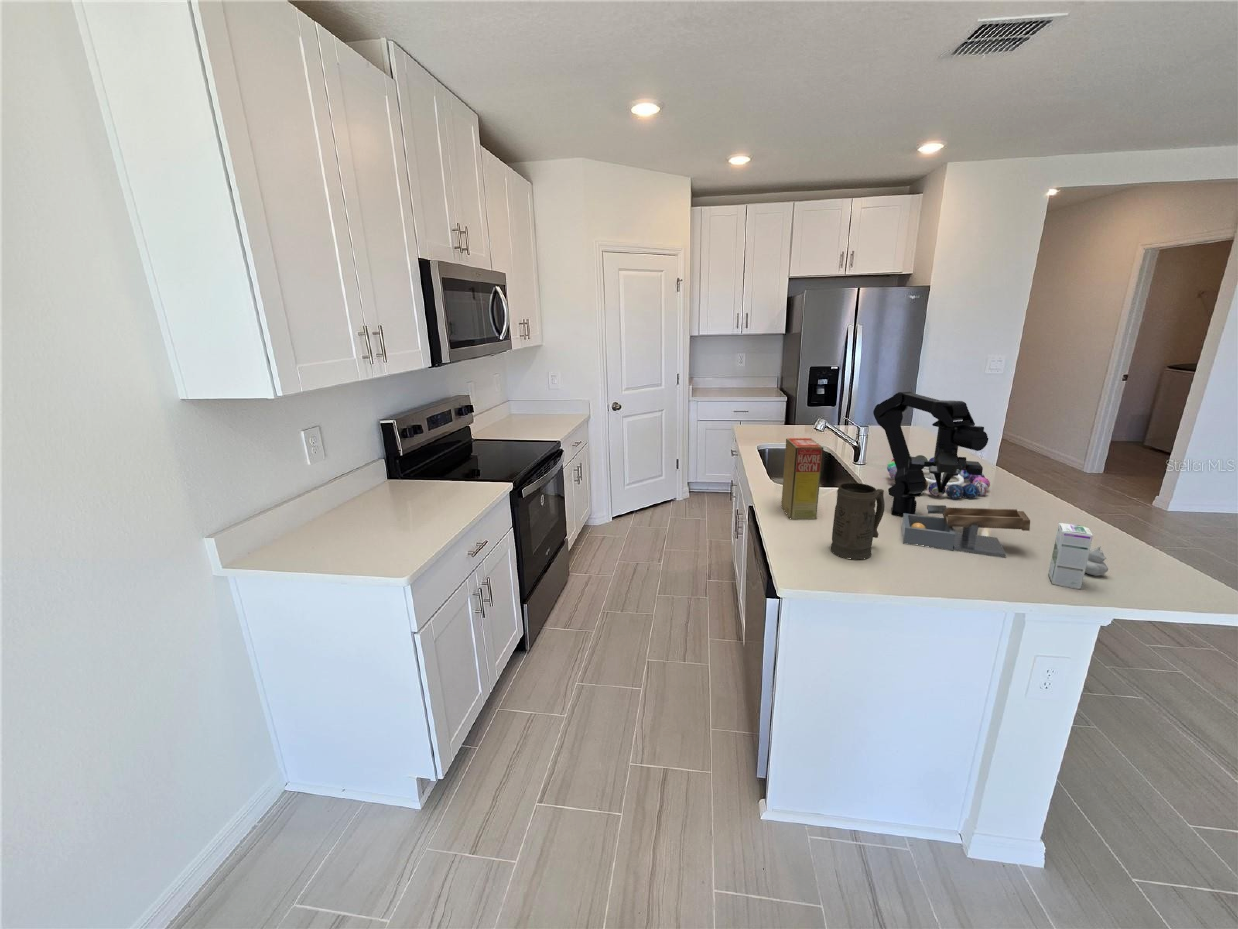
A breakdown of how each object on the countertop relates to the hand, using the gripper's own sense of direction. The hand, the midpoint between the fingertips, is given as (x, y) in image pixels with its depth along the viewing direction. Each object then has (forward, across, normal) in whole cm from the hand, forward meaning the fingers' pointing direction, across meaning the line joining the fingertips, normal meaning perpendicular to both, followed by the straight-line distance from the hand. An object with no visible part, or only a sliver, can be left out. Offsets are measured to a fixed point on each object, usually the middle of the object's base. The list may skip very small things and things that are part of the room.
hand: (939, 492), depth 156 cm
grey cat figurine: (+12, +32, -18) cm, 39 cm away
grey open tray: (+12, -3, -10) cm, 16 cm away
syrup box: (+12, +25, -26) cm, 38 cm away
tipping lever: (+5, +9, -6) cm, 12 cm away
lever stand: (+12, +9, -10) cm, 18 cm away
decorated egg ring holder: (+12, +4, +46) cm, 48 cm away
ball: (+9, -5, -10) cm, 15 cm away
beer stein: (+12, -22, -26) cm, 36 cm away
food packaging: (+12, -41, -2) cm, 42 cm away
